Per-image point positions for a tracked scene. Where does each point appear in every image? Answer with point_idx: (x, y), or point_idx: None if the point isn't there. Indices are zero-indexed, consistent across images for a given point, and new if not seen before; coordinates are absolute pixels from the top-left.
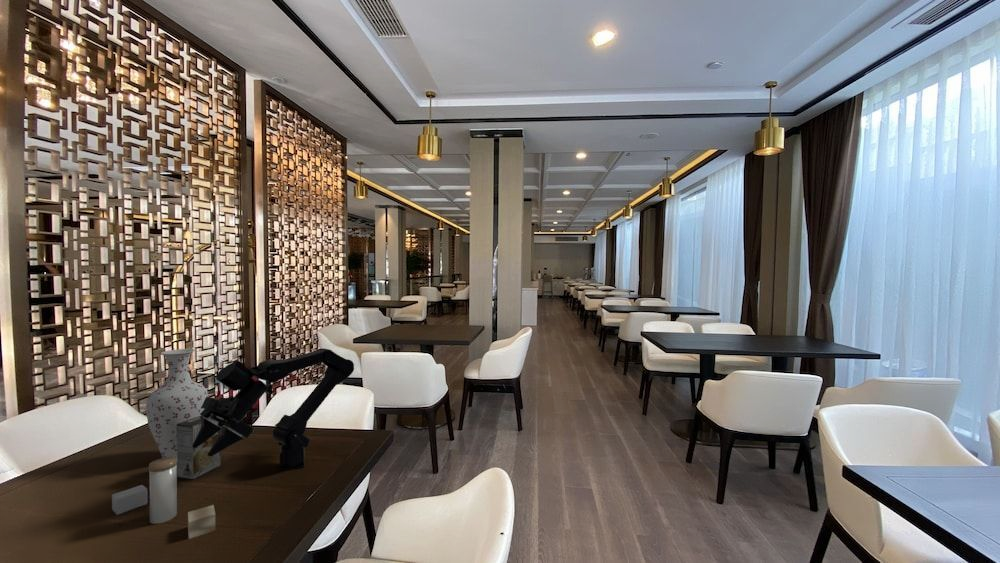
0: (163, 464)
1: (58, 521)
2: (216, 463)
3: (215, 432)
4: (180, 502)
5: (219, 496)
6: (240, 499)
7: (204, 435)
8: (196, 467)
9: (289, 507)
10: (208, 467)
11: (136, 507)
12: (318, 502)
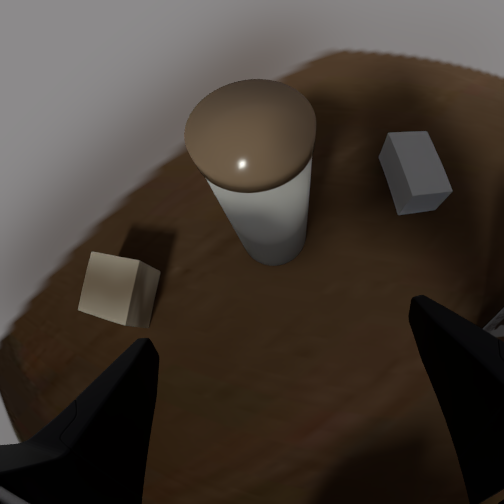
0: (202, 121)
1: (414, 92)
2: None
3: (462, 466)
4: (338, 285)
5: (284, 385)
6: (209, 420)
7: (458, 387)
8: None
9: None
10: None
11: (391, 192)
12: None
